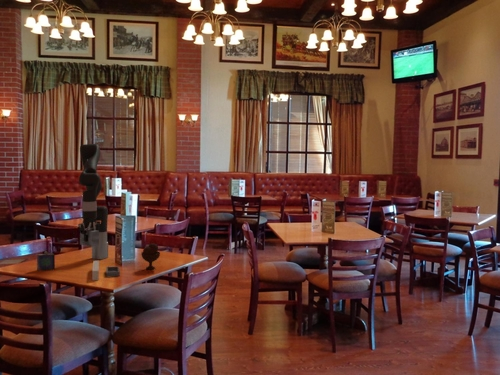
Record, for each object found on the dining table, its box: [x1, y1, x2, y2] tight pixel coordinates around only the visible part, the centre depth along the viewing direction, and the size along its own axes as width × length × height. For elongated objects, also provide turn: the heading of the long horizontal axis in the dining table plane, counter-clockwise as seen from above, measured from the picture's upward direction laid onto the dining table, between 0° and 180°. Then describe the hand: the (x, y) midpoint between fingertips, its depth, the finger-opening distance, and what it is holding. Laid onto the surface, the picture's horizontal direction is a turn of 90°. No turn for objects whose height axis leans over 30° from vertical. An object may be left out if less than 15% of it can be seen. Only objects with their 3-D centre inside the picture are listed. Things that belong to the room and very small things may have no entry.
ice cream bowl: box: [141, 243, 161, 271], centre depth 263 cm, size 11×11×15 cm
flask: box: [36, 250, 56, 271], centre depth 256 cm, size 9×3×11 cm, turn 109°
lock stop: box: [79, 230, 99, 247], centre depth 246 cm, size 10×4×8 cm, turn 63°
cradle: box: [105, 266, 121, 278], centre depth 251 cm, size 13×7×2 cm, turn 18°
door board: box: [91, 260, 100, 281], centre depth 248 cm, size 24×3×5 cm, turn 18°
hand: (89, 240), depth 246 cm, fingers closed on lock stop, 4 cm apart
